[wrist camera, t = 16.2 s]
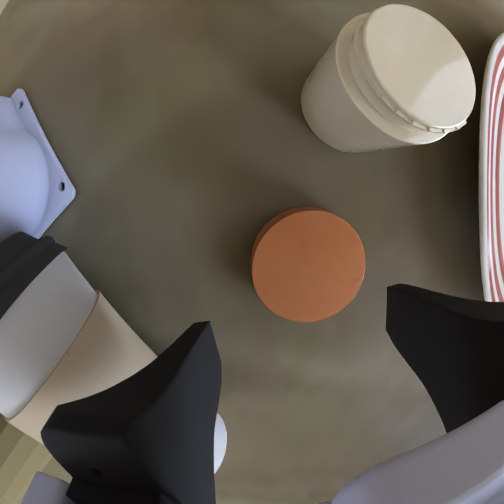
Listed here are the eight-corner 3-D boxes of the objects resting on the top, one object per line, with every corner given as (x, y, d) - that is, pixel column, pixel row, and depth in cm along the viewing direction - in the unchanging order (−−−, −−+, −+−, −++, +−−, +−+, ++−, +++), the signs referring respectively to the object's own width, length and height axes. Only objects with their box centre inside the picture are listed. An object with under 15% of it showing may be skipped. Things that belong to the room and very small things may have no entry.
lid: (351, 304, 16) (361, 317, 14) (253, 313, 16) (254, 328, 14) (355, 204, 14) (368, 208, 13) (247, 208, 14) (248, 213, 13)
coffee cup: (159, 395, 20) (14, 256, 14) (254, 382, 16) (63, 175, 10) (123, 493, 12) (-66, 351, 6) (225, 525, 9) (-95, 315, 3)
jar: (280, 88, 13) (312, 16, 6) (355, 49, 12) (421, -15, 5) (338, 171, 14) (419, 172, 7) (407, 126, 13) (501, 108, 6)
